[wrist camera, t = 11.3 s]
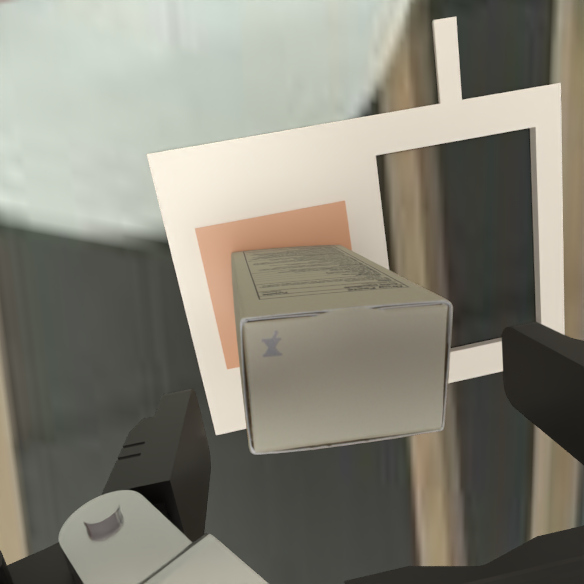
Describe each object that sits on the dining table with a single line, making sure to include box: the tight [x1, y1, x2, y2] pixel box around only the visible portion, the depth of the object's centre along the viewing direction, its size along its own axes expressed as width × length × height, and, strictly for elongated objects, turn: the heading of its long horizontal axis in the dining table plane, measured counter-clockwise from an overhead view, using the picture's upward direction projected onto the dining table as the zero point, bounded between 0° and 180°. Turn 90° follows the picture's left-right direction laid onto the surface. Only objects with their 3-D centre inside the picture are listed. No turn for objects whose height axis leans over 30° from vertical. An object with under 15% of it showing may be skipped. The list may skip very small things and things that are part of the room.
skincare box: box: [231, 245, 453, 455], centre depth 19 cm, size 6×4×12 cm
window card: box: [147, 17, 565, 435], centre depth 25 cm, size 22×20×1 cm
